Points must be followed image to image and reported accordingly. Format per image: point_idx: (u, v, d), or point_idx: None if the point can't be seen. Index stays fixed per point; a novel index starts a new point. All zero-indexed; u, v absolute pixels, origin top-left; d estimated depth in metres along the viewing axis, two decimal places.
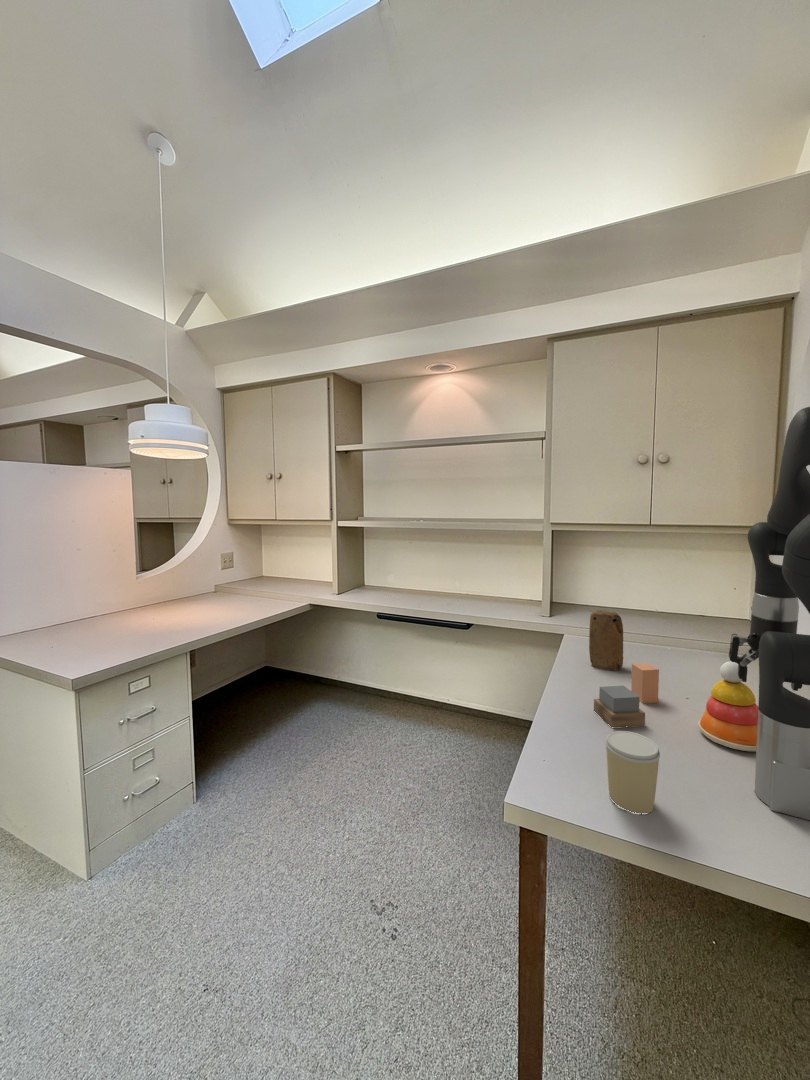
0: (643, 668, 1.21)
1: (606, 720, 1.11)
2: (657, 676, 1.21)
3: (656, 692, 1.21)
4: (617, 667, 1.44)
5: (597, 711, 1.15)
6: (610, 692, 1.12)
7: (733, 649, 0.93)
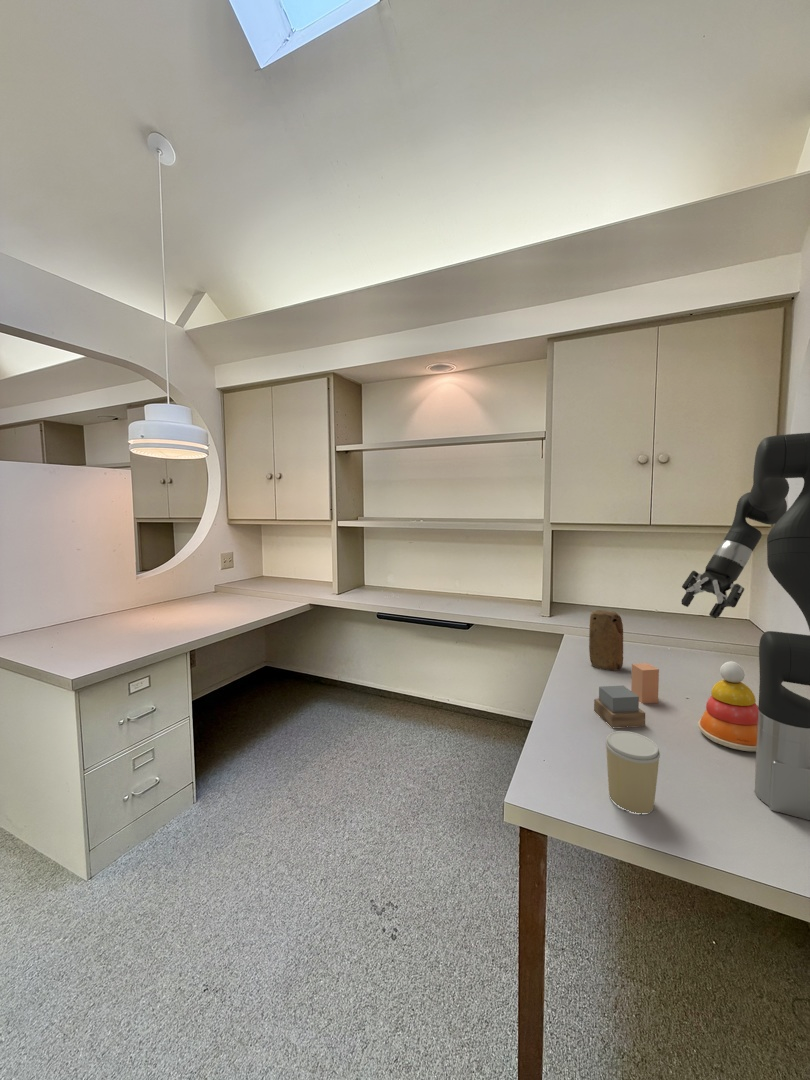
0: (643, 668, 1.21)
1: (606, 720, 1.11)
2: (657, 676, 1.21)
3: (656, 692, 1.21)
4: (617, 667, 1.44)
5: (597, 711, 1.15)
6: (609, 692, 1.12)
7: (688, 579, 1.21)
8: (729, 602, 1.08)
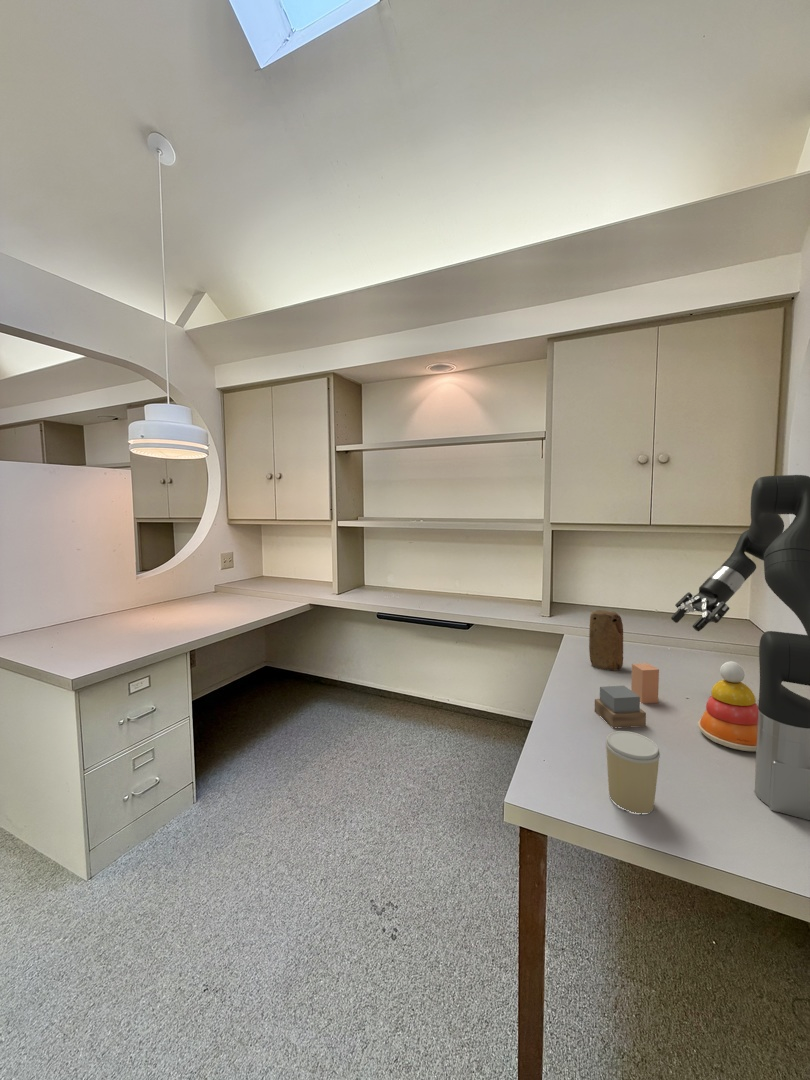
0: (643, 668, 1.21)
1: (607, 720, 1.11)
2: (657, 676, 1.21)
3: (656, 692, 1.21)
4: (617, 667, 1.44)
5: (598, 711, 1.15)
6: (610, 692, 1.12)
7: (682, 598, 1.30)
8: (712, 616, 1.16)
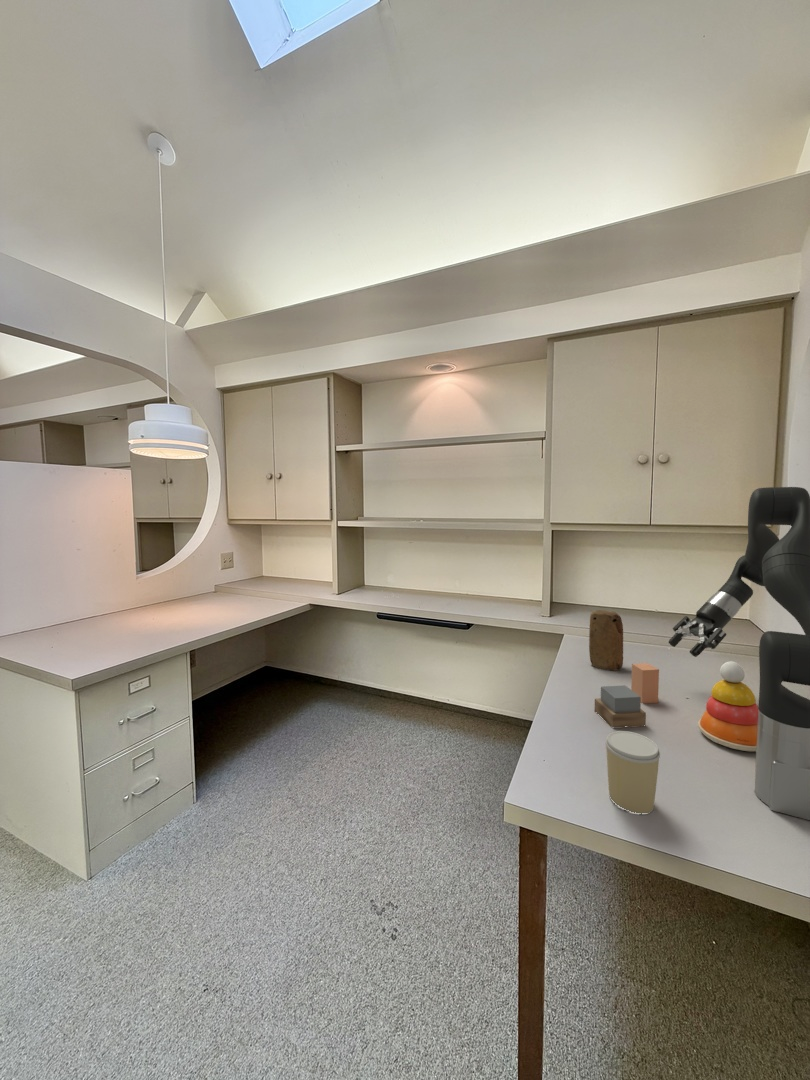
0: (643, 668, 1.21)
1: (607, 720, 1.11)
2: (657, 676, 1.21)
3: (656, 692, 1.21)
4: (617, 667, 1.44)
5: (598, 711, 1.15)
6: (611, 692, 1.12)
7: (679, 622, 1.30)
8: (709, 642, 1.17)
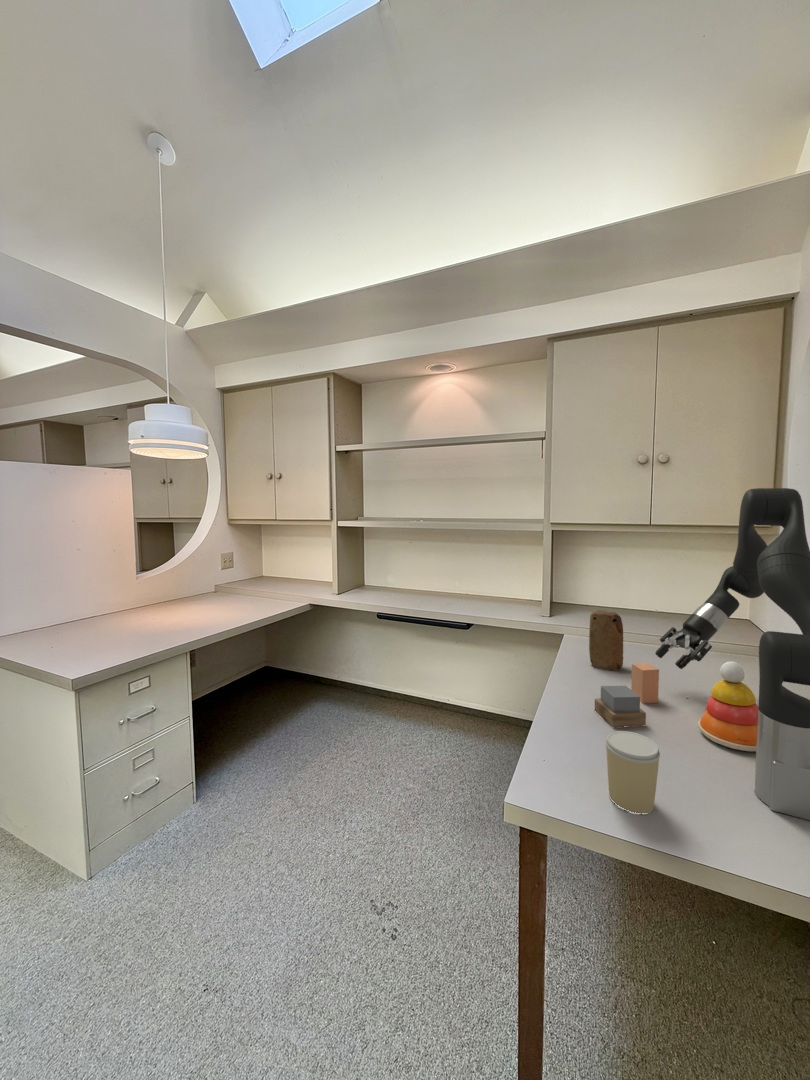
0: (643, 668, 1.21)
1: (607, 720, 1.11)
2: (657, 676, 1.21)
3: (656, 692, 1.21)
4: (617, 667, 1.44)
5: (598, 711, 1.15)
6: (610, 692, 1.12)
7: (666, 633, 1.30)
8: (694, 654, 1.16)
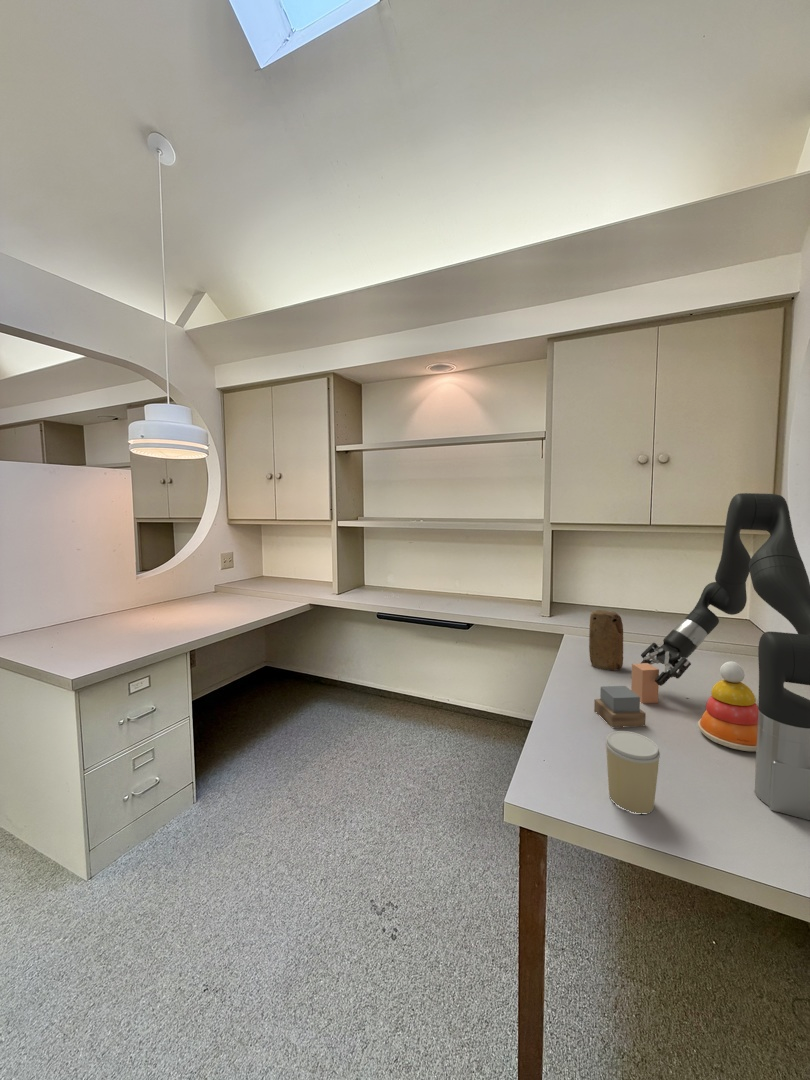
0: (643, 668, 1.21)
1: (606, 720, 1.11)
2: (657, 676, 1.21)
3: (656, 692, 1.21)
4: (617, 667, 1.44)
5: (597, 711, 1.15)
6: (610, 692, 1.12)
7: (647, 649, 1.30)
8: (673, 672, 1.16)
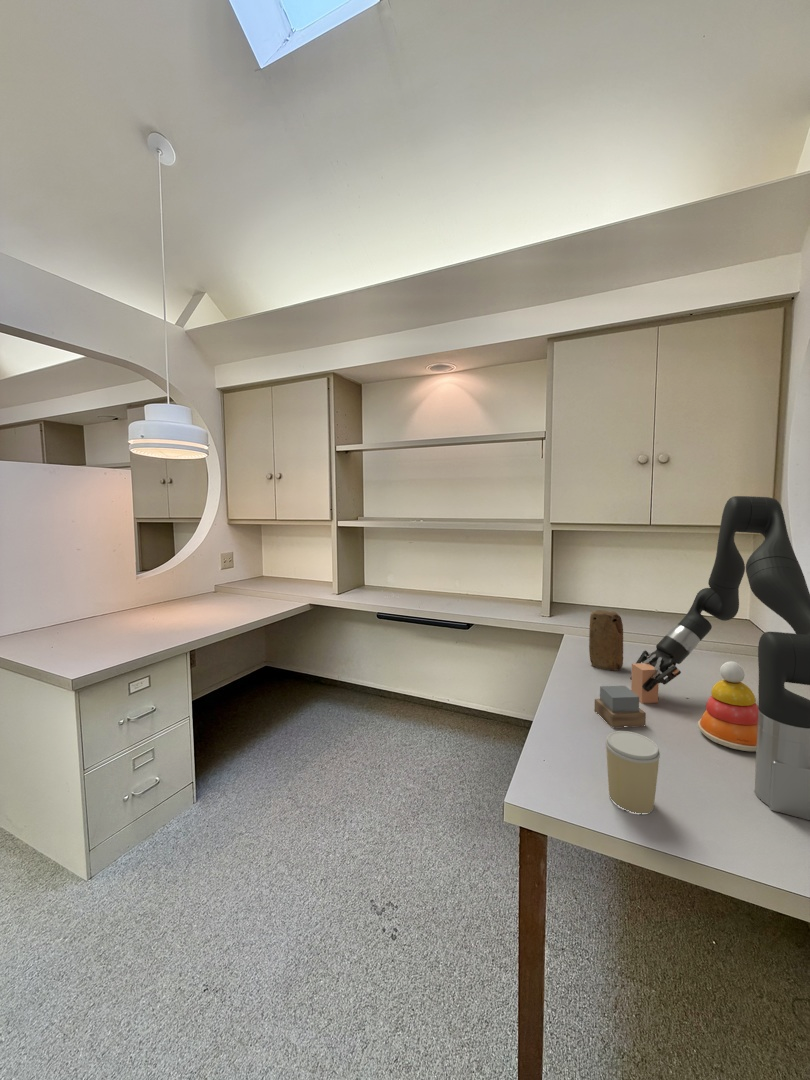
0: (643, 668, 1.21)
1: (607, 720, 1.11)
2: None
3: (656, 692, 1.21)
4: (617, 667, 1.44)
5: (598, 711, 1.15)
6: (609, 692, 1.12)
7: (640, 657, 1.29)
8: (660, 678, 1.18)
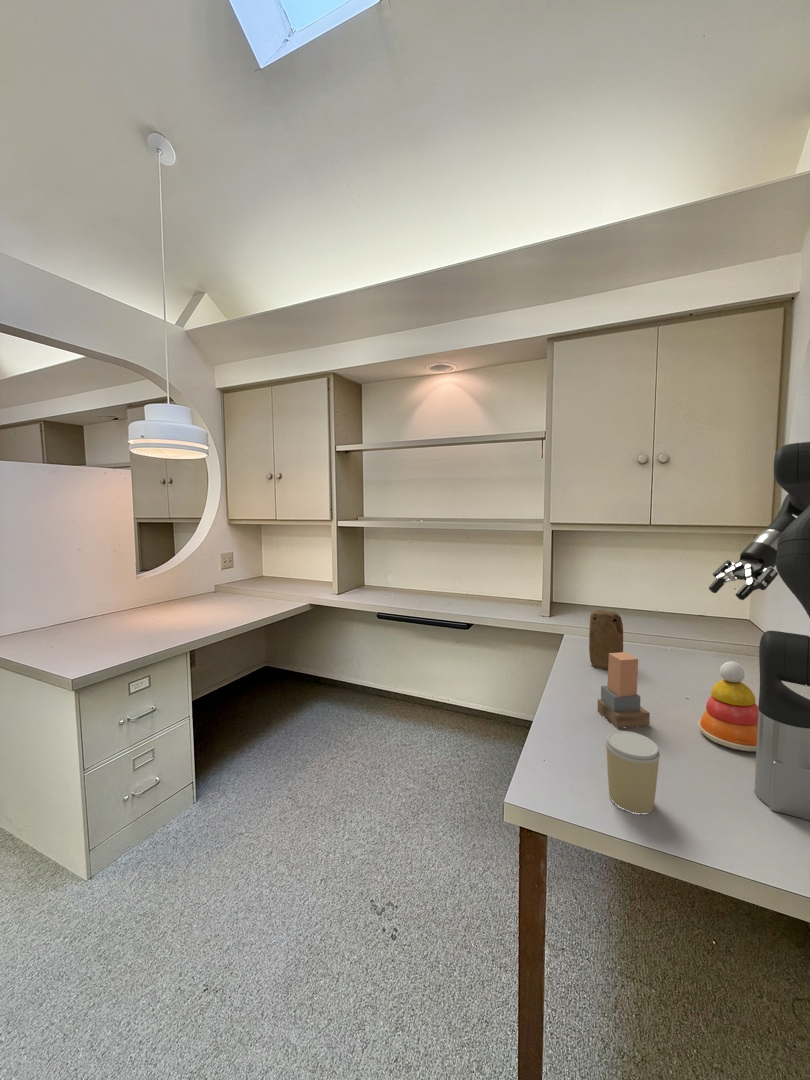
0: (621, 658, 1.10)
1: (611, 720, 1.10)
2: (636, 666, 1.09)
3: (635, 684, 1.10)
4: None
5: (601, 711, 1.15)
6: (611, 691, 1.12)
7: (720, 567, 1.17)
8: (759, 582, 1.04)
